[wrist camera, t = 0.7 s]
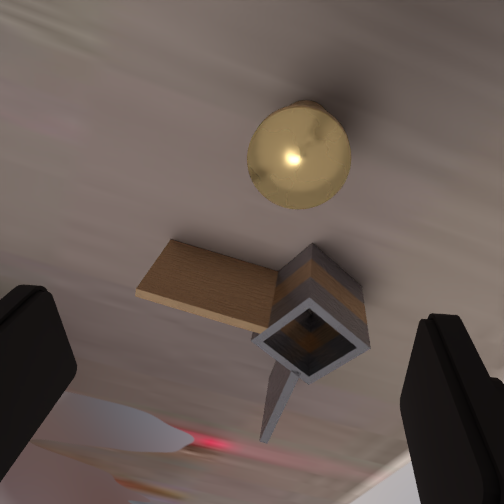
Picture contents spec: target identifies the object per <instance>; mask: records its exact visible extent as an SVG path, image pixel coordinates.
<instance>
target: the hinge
mask: <svg viewBox="0 0 504 504" xmlns="http://www.w3.org/2000/svg"><path fill="white" fill-rule="evenodd" d="M135 296H136V297H139V298H143V299H146V300H149V301H153V302H156V303H159V304H163V305H166V306H169V307H173V308H176V309H179V310H183V311H186V312H189V313H193V314H196V315H199V316H203V317H206V318H209V319H213V320H216V321H219V322H223V323H226V324H229V325H233V326H236V327H239V328H243V329H246V330H249V331H253V334H252V338H251V341H252V342H253V343H254V344H256V345H257V346H258V347H260V348H261V349H262V350H264V351H265V352H266V353H267V354H269V355H270V356H271V357H273V358H274V359H275V360H276V362H275V365H274V367H273V370H272V372H271V374H270V377H269V383H268V389H267V396H266V402H265V408H264V415H263V421H262V428H261V434H260V442H263V443H266V444H267V443H268V441H269V439H270V437H271V435H272V433H273V431H274V428H275V426H276V424H277V422H278V420H279V418H280V416H281V414H282V412H283V410H284V408H285V406H286V403H287V401H288V399H289V397H290V395H291V393H292V391H293V389H294V387H295V385H296V383H297V381H298V378H300V379H302V380H303V381H304V382H306V383H307V384H308V385H309V384H311V383H313V382H315V381H316V380H318V379H320V378H321V377H323V376H325V375H326V374H328V373H330V372H332V371H333V370H335V369H337V368H338V367H340V366H342V365H343V364H345V363H347V362H348V361H350V360H352V359H354V358H355V357H357V356H359V355H360V354H362V353H364V352H365V351H367V350H369V349H371V348H370V341H369V334H368V327H367V320H366V313H365V306H364V299H363V292H362V287H361V286H360V285H359V284H358V283H357V282H356V281H355V280H353V279H352V278H351V277H350V276H349V275H348V274H347V273H346V272H344V271H343V270H342V269H341V268H340V267H339V266H338V265H337V264H335V263H334V262H333V261H332V260H331V259H330V258H329V257H327V256H326V255H325V254H324V253H323V252H322V251H321V250H320V249H318V248H317V247H316V246H315V245H314V244H313V243H312V244H311V245H309V246H308V247H307V248H306V249H305V250H303V251H302V252H301V253H300V254H299V255H297V256H296V257H295V258H294V259H293V260H291V261H290V262H289V263H288V264H287V265H285V266H284V267H283V268H282V269H281V270H279V271H275V270H272V269H268V268H265V267H262V266H258V265H255V264H251V263H248V262H245V261H241V260H238V259H235V258H231V257H228V256H225V255H221V254H218V253H215V252H211V251H208V250H205V249H201V248H198V247H195V246H191V245H188V244H184V243H181V242H178V241H174V240H170V241H169V243H168V244H167V246H166V247H165V248H164V250H163V251H162V253H161V254H160V256H159V257H158V258H157V260H156V261H155V263H154V264H153V265H152V267H151V268H150V270H149V271H148V273H147V274H146V275H145V277H144V278H143V280H142V281H141V282H140V284H139V285H138V287H137V288H136V295H135ZM309 308H310V309H311V310H312V311H314V313H313V314H312V315H311V314H310V313H309V312H308V311H307V309H309Z"/></svg>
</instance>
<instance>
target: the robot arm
mask: <svg viewBox="0 0 504 504" xmlns="http://www.w3.org/2000/svg"><path fill="white" fill-rule="evenodd" d="M76 371H77V364H76V361H75V358H74V355H73V352H72V349H71V346H70V344H69V341H68V338H67V335H66V332H65V330H64V327H63V324H62V321H61V318H60V316H59V313H58V310H57V307H56V304H55V302H54V299H53V296H52V294H51V293H50V292H48V291H47V289H46V288H45V287H43V286H36V285H18V286H17V287H15V288H14V289H13V290H11V291H10V292H9V293H8V294H7V295H6V296H4V297H3V298H2V299H1V300H0V482H1V480H2V479H3V477H4V476H5V475H6V473H7V472H8V471H9V469H10V467H11V466H12V465H13V463H14V462H15V461H16V459H17V458H18V456H19V455H20V453H21V452H22V451H23V449H24V448H25V446H26V445H27V444H28V442H29V441H30V439H31V438H32V436H33V435H34V434H35V432H36V431H37V429H38V428H39V427H40V425H41V424H42V422H43V421H44V419H45V418H46V417H47V415H48V414H49V412H50V411H51V410H52V408H53V407H54V405H55V403H56V402H57V401H58V399H59V398H60V397H61V395H62V394H63V393H64V391H65V390H66V388H67V387H68V385H69V384H70V383H71V381H72V380H73V378H74V377H75V374H76ZM400 411H401V416H402V420H403V425H404V429H405V434H406V439H407V443H408V448H409V452H410V457H411V461H412V466H413V470H414V475H415V479H416V484H417V488H418V493H419V497H420V502H421V504H504V384H503V382H502V381H501V380H499V379H498V378H493V377H490V376H489V374H488V372H487V370H486V368H485V366H484V364H483V362H482V360H481V358H480V356H479V354H478V352H477V350H476V348H475V346H474V344H473V342H472V340H471V338H470V336H469V334H468V332H467V330H466V328H465V326H464V324H463V322H462V320H461V319H460V317H459V316H457V315H448V314H434V313H432V314H430V315H429V316H428V319H421V320H420V322H419V325H418V329H417V333H416V337H415V341H414V345H413V349H412V353H411V357H410V361H409V365H408V369H407V373H406V377H405V381H404V385H403V389H402V393H401V397H400Z"/></svg>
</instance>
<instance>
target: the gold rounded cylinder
mask: <svg viewBox="0 0 504 504" xmlns="http://www.w3.org/2000/svg"><path fill="white" fill-rule="evenodd" d="M247 165H248V171H249V174H250V177H251V179H252V182H253V183H254V185H255V187H256V188H257V189H258V191H259V192H260V193H261V194H262V195H263V196H264V197H265V198H267V199H268V200H269V201H271V202H273V203H274V204H277V205H279V206H282V207H285V208H290V209H307V208H312V207H315V206H318V205H320V204H323V203H324V202H326V201H328V200H329V199H331V198H332V197H333V196H334V195H335V194H336V193H337V192H338V191H339V190H340V189H341V187H342V186H343V184H344V183H345V181H346V179H347V176H348V174H349V170H350V165H351V151H350V145H349V141H348V137H347V135H346V133H345V130H344V129H343V127H342V126H341V124H340V123H339V122H338V121H337V119H336V118H334V117H333V116H332V115H331V114H330V113H328V112H327V111H326V110H325V109H324V108H323V107H322V106H321V105H320V104H318V103H316V102H313V101H309V100H302V101H297V102H295V103H293V104H291V105H290V106H286V107H283V108H281V109H278V110H277V111H275V112H273V113H272V114H270V115H269V116H268V117H267V118H266V119H265V120H264V121H263V122H262V123H261V124H260V125H259V127H258V128H257V130H256V131H255V133H254V135H253V137H252V139H251V141H250V144H249V148H248V153H247Z"/></svg>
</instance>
